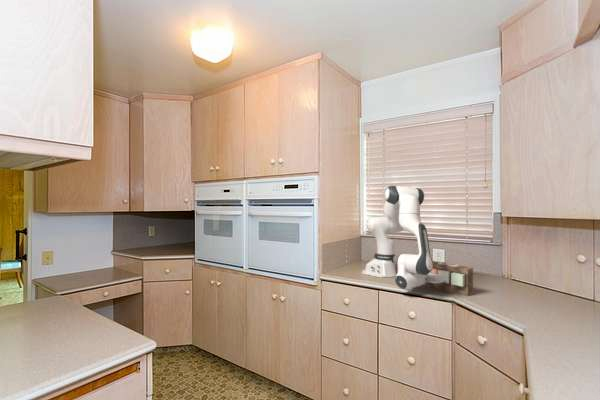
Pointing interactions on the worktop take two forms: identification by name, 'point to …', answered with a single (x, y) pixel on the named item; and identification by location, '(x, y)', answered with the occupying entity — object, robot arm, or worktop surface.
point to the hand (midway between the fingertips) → (431, 273)
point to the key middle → (445, 275)
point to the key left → (435, 270)
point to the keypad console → (450, 287)
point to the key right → (458, 279)
